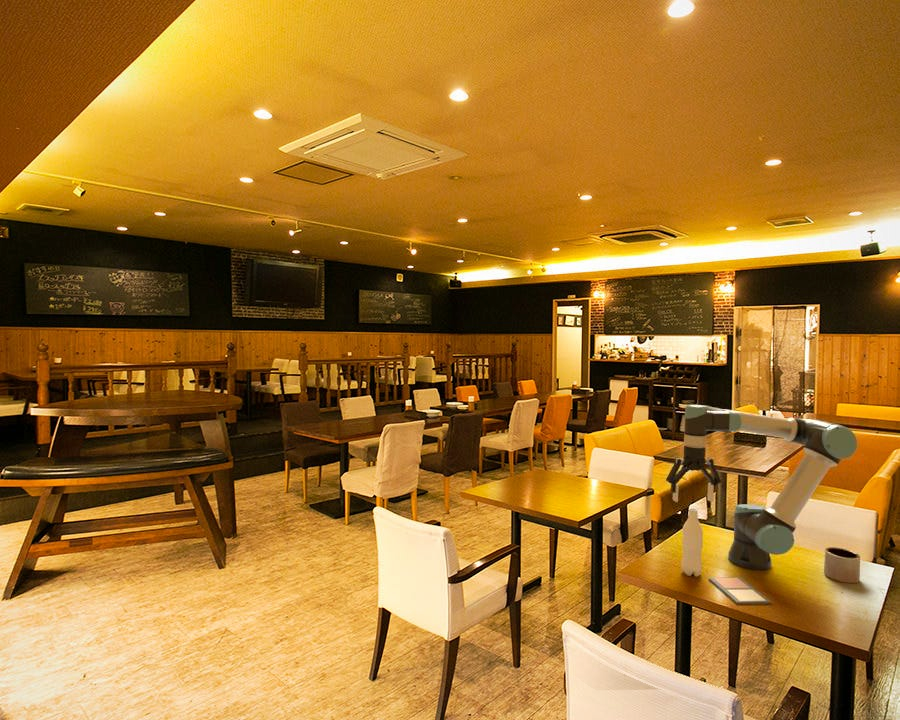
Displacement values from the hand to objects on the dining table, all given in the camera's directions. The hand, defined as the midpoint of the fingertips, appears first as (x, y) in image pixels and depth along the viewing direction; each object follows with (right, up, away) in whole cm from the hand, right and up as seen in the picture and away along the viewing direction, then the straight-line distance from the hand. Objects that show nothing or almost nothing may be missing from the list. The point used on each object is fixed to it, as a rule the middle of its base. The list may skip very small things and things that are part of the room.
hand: (692, 501), depth 198 cm
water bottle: (0, -29, +1) cm, 29 cm away
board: (+11, -29, -12) cm, 33 cm away
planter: (+56, -29, -1) cm, 63 cm away
